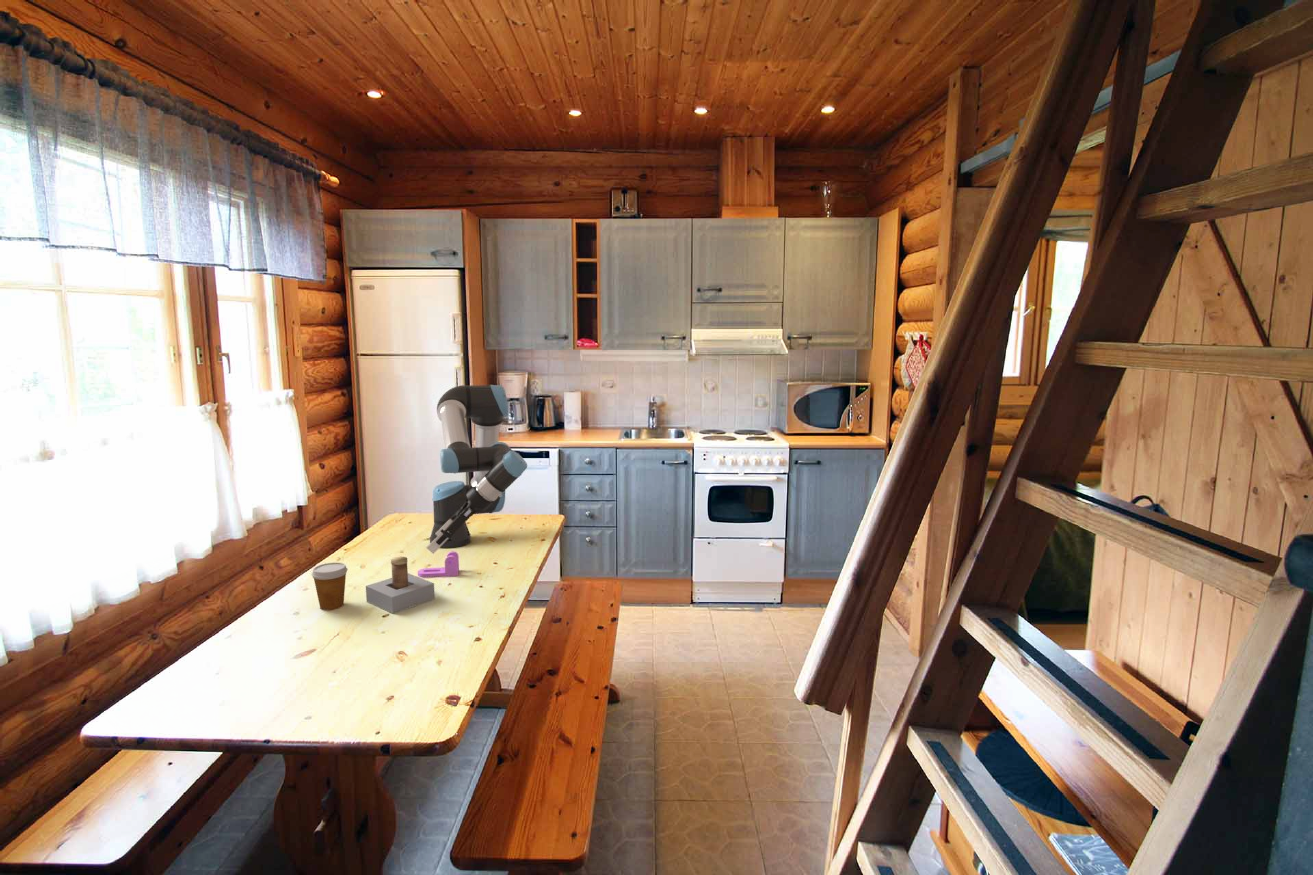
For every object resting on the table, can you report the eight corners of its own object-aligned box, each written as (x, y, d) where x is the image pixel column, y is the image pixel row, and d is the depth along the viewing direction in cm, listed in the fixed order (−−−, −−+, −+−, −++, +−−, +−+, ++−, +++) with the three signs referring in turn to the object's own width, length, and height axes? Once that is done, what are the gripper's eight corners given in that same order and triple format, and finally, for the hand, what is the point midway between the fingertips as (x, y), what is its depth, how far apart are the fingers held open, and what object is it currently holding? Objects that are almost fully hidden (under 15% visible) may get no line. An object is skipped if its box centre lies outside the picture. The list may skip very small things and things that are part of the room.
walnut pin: (389, 600, 200) (387, 559, 198) (403, 596, 204) (401, 555, 202) (398, 604, 197) (396, 562, 195) (412, 599, 201) (410, 558, 199)
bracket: (459, 570, 227) (458, 551, 226) (456, 576, 221) (456, 556, 220) (419, 572, 225) (418, 552, 224) (416, 578, 219) (415, 558, 218)
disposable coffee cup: (356, 602, 199) (354, 564, 197) (331, 614, 190) (329, 574, 188) (331, 597, 202) (329, 560, 200) (306, 609, 193) (303, 570, 191)
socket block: (366, 601, 199) (365, 585, 198) (408, 587, 210) (407, 572, 209) (392, 613, 191) (391, 597, 190) (434, 598, 202) (434, 583, 201)
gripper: (488, 512, 188) (436, 565, 188) (497, 492, 212) (450, 538, 212) (469, 495, 186) (415, 548, 186) (479, 476, 211) (432, 523, 211)
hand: (434, 543), depth 199 cm, fingers open, 13 cm apart
